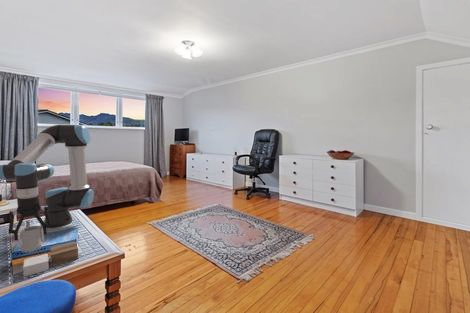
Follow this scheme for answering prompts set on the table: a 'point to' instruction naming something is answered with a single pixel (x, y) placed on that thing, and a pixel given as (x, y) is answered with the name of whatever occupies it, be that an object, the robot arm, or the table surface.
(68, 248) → the walnut block
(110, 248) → the table surface
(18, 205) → the robot arm
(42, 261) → the grey block
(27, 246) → the mug
